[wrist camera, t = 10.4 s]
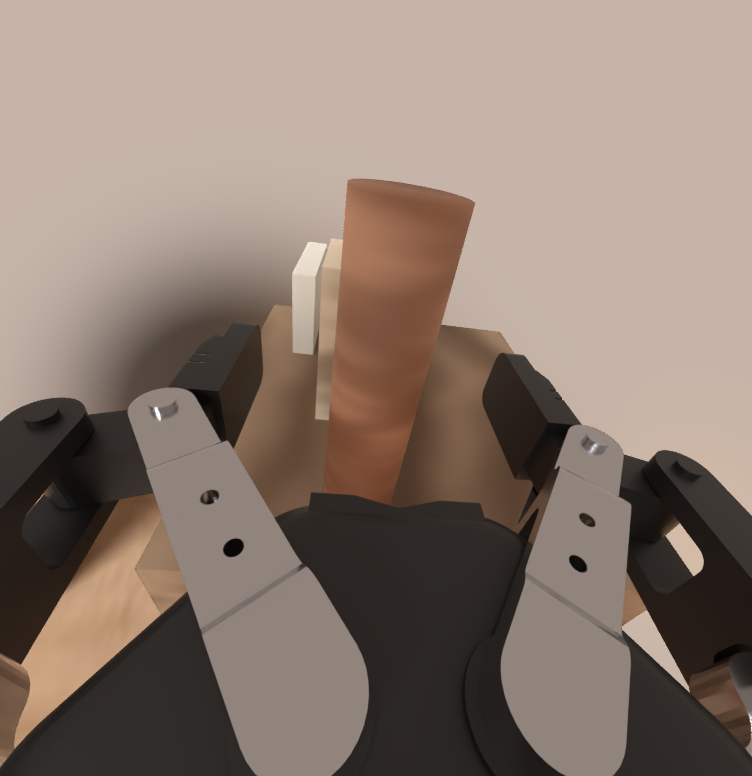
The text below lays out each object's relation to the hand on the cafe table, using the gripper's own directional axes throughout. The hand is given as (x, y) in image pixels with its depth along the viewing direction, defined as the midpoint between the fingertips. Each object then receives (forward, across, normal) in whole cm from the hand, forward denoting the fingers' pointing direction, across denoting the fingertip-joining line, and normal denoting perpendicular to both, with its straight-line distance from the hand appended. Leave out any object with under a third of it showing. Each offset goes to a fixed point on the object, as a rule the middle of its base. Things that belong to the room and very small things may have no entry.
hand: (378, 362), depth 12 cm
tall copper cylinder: (+4, 0, +8) cm, 9 cm away
